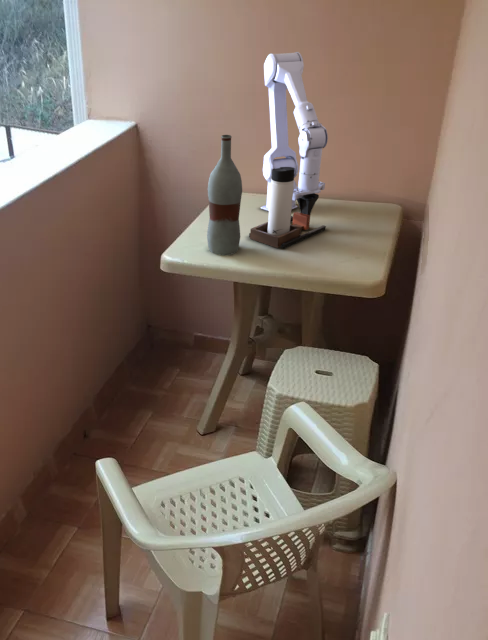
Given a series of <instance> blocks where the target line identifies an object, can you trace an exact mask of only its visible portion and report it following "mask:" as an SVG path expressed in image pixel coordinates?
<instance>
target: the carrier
mask: <svg viewBox="0 0 488 640" xmlns="http://www.w3.org/2000/svg"><path fill="white" fill-rule="evenodd" d="M292 216H293V221H292V222H291V223H292V224H290V231H289V232H287V233H285V234H282V235H280V236H275V235H272V234H269V233H267V232H268V221H266V222H264V223H261V224H258V225H256V226H254V227H251V228H250V232H249V233H250V237H249V240H252V241H256V242H259V243H261V244H265V245H267V246H269V247H272V248H277V249H278V248H281V244H282V243H285V242H287V241H289V240H291V239H294V238H296V237H298V236H300V235H302V230H304V231H307V230H309V229H310V225H311V224H310V222H311V214H310V215H306V214H303V213H300V211H295V212H293V215H292Z"/></svg>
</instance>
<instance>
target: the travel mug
mask: <svg viewBox="0 0 488 640" xmlns="http://www.w3.org/2000/svg"><path fill="white" fill-rule="evenodd" d="M294 173H295V168H293V167H280V168H276V169H275V168H274V169H272V177H271V188H270V202H269V211H268V220H267V222H268V232H267V233H269V234H272V235H275V236H280V235H282V234H285V233H287V232H289V231H290V225H291V222H290V220H291V216H292V210H293V209H292V198H293V187H294V180H295V178H294ZM291 209H292V210H291Z"/></svg>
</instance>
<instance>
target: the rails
mask: <svg viewBox="0 0 488 640" xmlns="http://www.w3.org/2000/svg"><path fill="white" fill-rule="evenodd" d="M292 222H293V215H291V220H290V223H292ZM326 227H327V225H320V226H318V227H316V228H314V229H312V230H309V231H307V232H305V233H302V234H301V235H300V236H298V237H296V238H294V239H291V240H289V241H287V242H285V243H282V244H281V247H280V249H286V248H289V247H292V246H294V245H296V244H297V243H300V242H302V241H304V240H305V241H306V240H307V239H310V238H311V237H314V236H316V235H318V234H320V233H322V232H324V231H326ZM248 238H250V232H249V234H248Z"/></svg>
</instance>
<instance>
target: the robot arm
mask: <svg viewBox="0 0 488 640" xmlns="http://www.w3.org/2000/svg"><path fill="white" fill-rule="evenodd" d="M304 68H305V63H304V59H303V56H302V53H300V52H299V51H295V52H288V53H287V52H285V53H269V54H268V55H267V57H266V59H265V60H264V63H263V76H264V86H265V87H267V88H268V103H269V104H268V105H269V106H268V107H269V123H270V124H269V125H270V140H271V141H270V142H271V143H270V144H271V148H270V149H269V150H268V151H267V152H266V153H265V154H264V155H263V165H262V175H263V178H264V179H265V181H267V188H266V189H267V191H266V192H267V193H266V204H265V205H261V206H260V209H261V210H264V211H267V212H269V202H270V188H271V177H272V169H274V168H275V169H276V168H280V167H293V168H295V173H294V187H293V198H292V209H291V211H292V210H295V209H297V208H298V207H299V213H303V214H306V215H310V216H311V213H312V211H313V208H314V206H315V204H316V202H317V201H318V200H319V197H320V193H321V192H322V191H324V190H325V189H326V188H325V187H326V182H323V181H320V173H321V167H322V166H321V164H322V156H323V149H325V148H326V146H327V144H328V141H329V136H328V135H329V134H328V130H327V128H326V127H325V126H324V125H323V123H321V122H320V121H319V119H318V115H317V112H316V109H315V107H314V104H313V103H312V102H310V101H308V97H307V94H306V88H305V84H304V80H303V73H304ZM287 90H288V92H289V95H290V97H291V100H292V101H293V104H294V106H295V107H294V110H293V113H292V114H293V116H294V119H295V123H296V126H297V129H298V132H299V135H298V138H297V140H298V146H299V148H298V149H299V151H298V152H299V156H300V162H299V163H298V159H297V152H296V151H295V150H293V149H292V148H291V147H290V145H289V127H288V125H289V124H288V106H287ZM297 176H298V183H297V182H296V180H295V178H296V177H297ZM296 202H297V204H298V205H297V204H296Z"/></svg>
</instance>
